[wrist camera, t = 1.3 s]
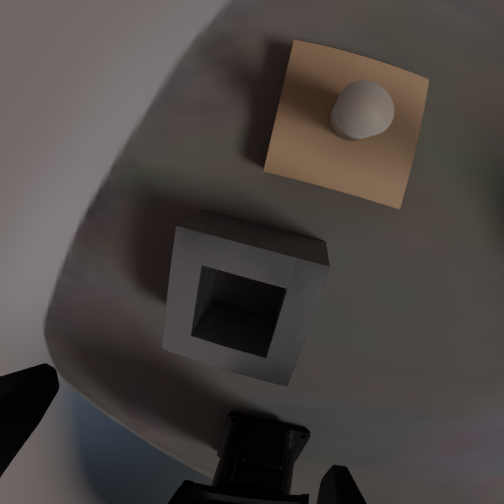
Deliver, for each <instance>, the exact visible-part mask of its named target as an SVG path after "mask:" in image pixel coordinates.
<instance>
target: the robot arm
mask: <svg viewBox="0 0 504 504" xmlns="http://www.w3.org/2000/svg"><path fill="white" fill-rule="evenodd" d="M58 390H59V382H58V377H57V372H56V369H55V368H54V367H52V366H50V365H48V364H46V363H44V364H40V365H37V366H34V367H30V368H27V369H24V370H21V371H17V372H14V373H11V374H7V375H4V376H0V477H1V476H2V474H3V473H4V471H5V470H6V468H7V467H8V466H9V464H10V463H11V461H12V460H13V458H14V457H15V456H16V454H17V453H18V451H19V450H20V449H21V447H22V446H23V445H24V443H25V442H26V440H27V439H28V438H29V436H30V435H31V433H32V432H33V431H34V430H35V428H36V427H37V425H38V424H39V423H40V421H41V419H42V418H43V416H44V414H45V412H46V410H47V409H48V407H49V406H50V404H51V402H52V400H53V399H54V397H55V395H56V394H57V392H58ZM309 438H310V431H309V430H307V429H303V428H298V427H293V426H289V425H284V424H280V423H276V422H271V421H267V420H263V419H259V418H256V417H252V416H248V415H244V414H241V413H237V412H230V413H229V415H228V417H227V421H226V425H225V428H224V432H223V435H222V439H221V442H220V446H219V450H218V453H217V456H218V457H219V458H220V460H219V463H218V466H217V469H216V472H215V475H214V478H213V481H212V484H211V486H209V485H203V484H199V483H194V482H193V481H189V480H185V481H184V482H183V483H182V485H181V486H180V487H179V488H178V490H177V491H176V492H175V494H174V495H173V497H172V498H171V500H170V501H169V502H168V504H308V502H309V494H301V495H290V490H291V483H292V475H293V467H294V463H295V461H296V459H297V458H298V456H299V455H300V453H301V451H302V450H303V448H304V446H305V445H306V443H307V441H308V440H309ZM317 504H366V502H365V500H364V498H363V496H362V494H361V492H360V491H359V489H358V487H357V485H356V483H355V481H354V479H353V477H352V476H351V474H350V472H349V470H348V468H347V467H346V466H341V465H333V466H332V467H331V468H330V469H329V470H328V472H327V473H326V474H325V475H324V477H323V478H322V480H321V484H320V489H319V494H318V499H317Z"/></svg>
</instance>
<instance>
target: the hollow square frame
mask: <svg viewBox="0 0 504 504" xmlns="http://www.w3.org/2000/svg"><path fill="white" fill-rule="evenodd" d="M329 268H330V265H329V259H328V252H327V246H326V242H324V241H321V240H317V239H313V238H310V237H306V236H302V235H298V234H295V233H291V232H287V231H283V230H280V229H276V228H272V227H268V226H264V225H260V224H257V223H253V222H249V221H245V220H241V219H237V218H233V217H229V216H225V215H221V214H217V213H213V212H209V211H205V210H204V211H202V212H200V213H198V214H197V215H195V216H193V217H191V218H189V219H188V220H186V221H184V222H182V223H181V224H179V225H177V226H176V231H175V238H174V245H173V253H172V260H171V268H170V276H169V285H168V293H167V303H166V312H165V323H164V334H163V346H162V349H164V350H167V351H170V352H173V353H176V354H179V355H181V356H184V357H187V358H190V359H193V360H196V361H199V362H202V363H206V364H209V365H212V366H215V367H218V368H222V369H225V370H228V371H232V372H235V373H238V374H242V375H245V376H249V377H253V378H256V379H260V380H264V381H268V382H271V383H275V384H279V385H283V386H287V385H288V382H289V380H290V377H291V375H292V372H293V370H294V367H295V364H296V362H297V359H298V357H299V354H300V351H301V349H302V346H303V343H304V341H305V338H306V335H307V332H308V329H309V327H310V324H311V321H312V318H313V315H314V313H315V310H316V307H317V304H318V301H319V298H320V295H321V292H322V289H323V286H324V283H325V280H326V277H327V274H328V271H329ZM219 270H221V271H224V272H228V273H231V274H235V275H238V276H242V277H246V278H249V279H253V280H257V281H260V282H264V283H268V284H271V285H275V286H279V287H282V288H285V289H284V292H283V296H282V299H281V303H280V306H279V309H278V313H277V316H276V320H273V319H270V318H266V317H262V316H259V315H255V314H251V313H248V312H244V311H241V310H237V309H234V308H230V307H227V306H224V305H220V304H217V303H213V297H214V292H215V286H216V281H217V276H218V271H219Z"/></svg>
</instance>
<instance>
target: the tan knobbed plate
mask: <svg viewBox="0 0 504 504" xmlns="http://www.w3.org/2000/svg"><path fill="white" fill-rule="evenodd" d="M428 84H429V79H426V78H424V77H421V76H419V75H416V74H414V73H411V72H409V71H406V70H403V69H400V68H398V67H395V66H392V65H389V64H386V63H383V62H380V61H377V60H374V59H371V58H367V57H364V56H361V55H357V54H354V53H350V52H346V51H342V50H339V49H335V48H331V47H326V46H322V45H318V44H313V43H309V42H304V41H299V40H294V41H293V46H292V50H291V54H290V58H289V63H288V67H287V71H286V76H285V80H284V84H283V88H282V93H281V97H280V101H279V106H278V110H277V114H276V119H275V123H274V127H273V132H272V136H271V140H270V145H269V149H268V154H267V158H266V162H265V167H264V172H268V173H272V174H276V175H280V176H284V177H288V178H292V179H296V180H300V181H304V182H308V183H311V184H315V185H319V186H322V187H326V188H330V189H333V190H337V191H340V192H344V193H347V194H351V195H354V196H358V197H361V198H364V199H368V200H371V201H374V202H377V203H381V204H384V205H387V206H390V207H393V208H396V209H399V210H400V207H401V203H402V200H403V196H404V193H405V189H406V185H407V182H408V178H409V174H410V170H411V166H412V162H413V158H414V154H415V150H416V145H417V141H418V136H419V132H420V127H421V122H422V117H423V112H424V107H425V101H426V96H427V90H428Z"/></svg>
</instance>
